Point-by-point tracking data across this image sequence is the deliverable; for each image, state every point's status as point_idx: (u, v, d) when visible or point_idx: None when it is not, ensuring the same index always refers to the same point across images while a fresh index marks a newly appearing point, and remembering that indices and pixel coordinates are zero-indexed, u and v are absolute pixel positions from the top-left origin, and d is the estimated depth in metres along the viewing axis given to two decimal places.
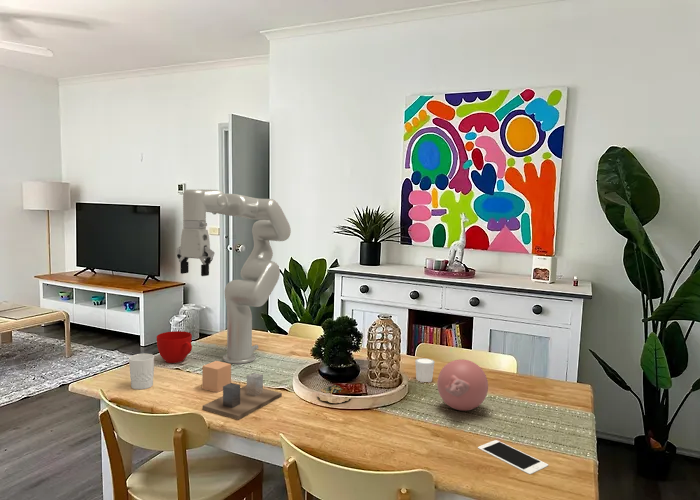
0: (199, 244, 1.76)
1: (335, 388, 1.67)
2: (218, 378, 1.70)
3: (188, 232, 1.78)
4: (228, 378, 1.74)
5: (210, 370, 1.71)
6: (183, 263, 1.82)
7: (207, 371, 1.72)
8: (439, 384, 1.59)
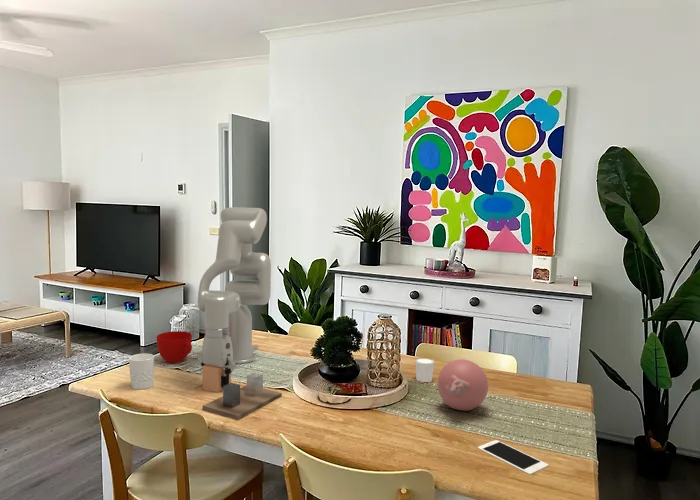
0: (222, 354, 1.69)
1: (335, 388, 1.67)
2: (218, 378, 1.70)
3: (210, 340, 1.71)
4: None
5: (210, 370, 1.71)
6: None
7: (207, 371, 1.72)
8: (439, 384, 1.59)
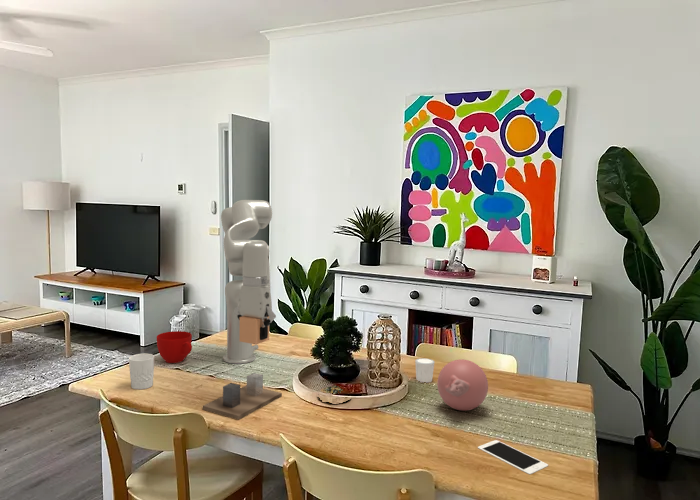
0: (261, 303, 1.60)
1: (335, 388, 1.66)
2: (257, 329, 1.61)
3: (248, 289, 1.62)
4: None
5: (248, 320, 1.62)
6: None
7: (245, 322, 1.62)
8: (439, 384, 1.59)
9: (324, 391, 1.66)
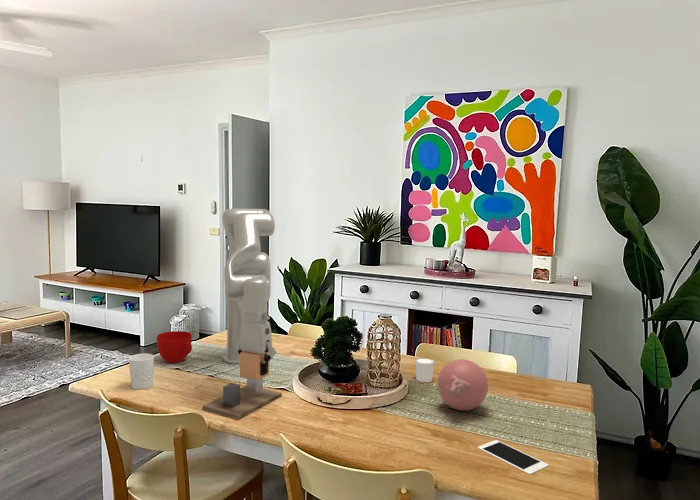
0: (261, 339, 1.61)
1: (335, 389, 1.66)
2: (257, 365, 1.62)
3: (249, 326, 1.63)
4: None
5: (248, 356, 1.63)
6: None
7: (245, 358, 1.63)
8: (439, 384, 1.59)
9: (324, 391, 1.66)
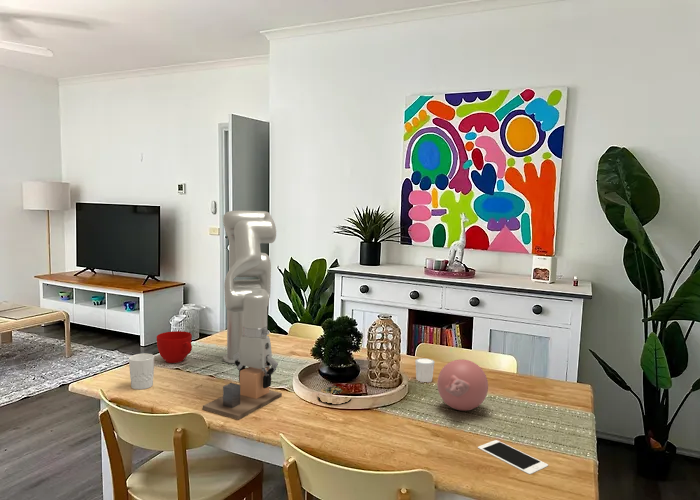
0: (261, 354, 1.62)
1: (335, 389, 1.66)
2: (257, 384, 1.62)
3: (249, 340, 1.63)
4: None
5: (248, 375, 1.63)
6: None
7: (245, 376, 1.64)
8: (439, 384, 1.59)
9: (324, 391, 1.66)
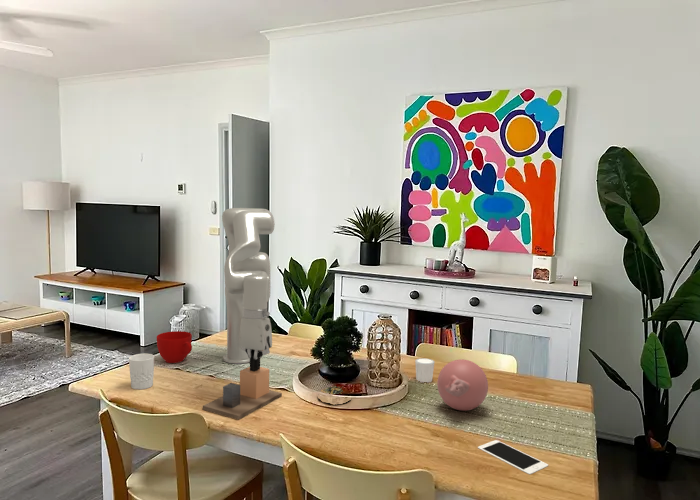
0: (261, 336, 1.61)
1: (335, 389, 1.66)
2: (257, 384, 1.62)
3: (249, 322, 1.62)
4: (266, 383, 1.67)
5: (248, 375, 1.63)
6: None
7: (245, 376, 1.64)
8: (439, 384, 1.59)
9: (324, 391, 1.66)
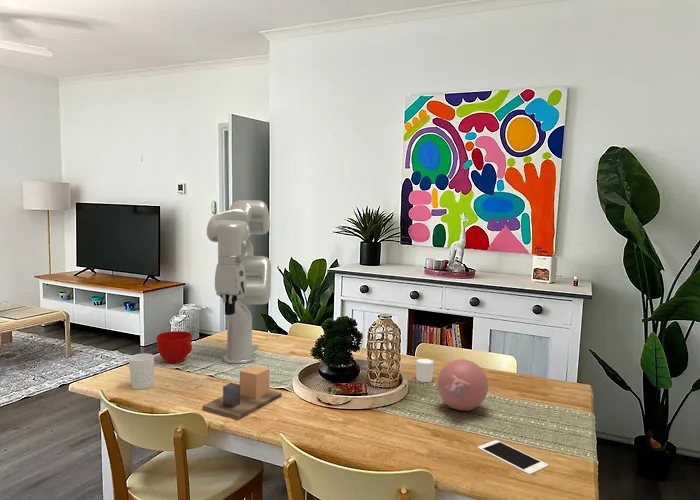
0: (236, 281, 1.69)
1: (335, 389, 1.66)
2: (257, 384, 1.62)
3: (224, 268, 1.70)
4: (266, 383, 1.67)
5: (248, 375, 1.63)
6: None
7: (245, 376, 1.64)
8: (439, 384, 1.59)
9: (324, 392, 1.66)
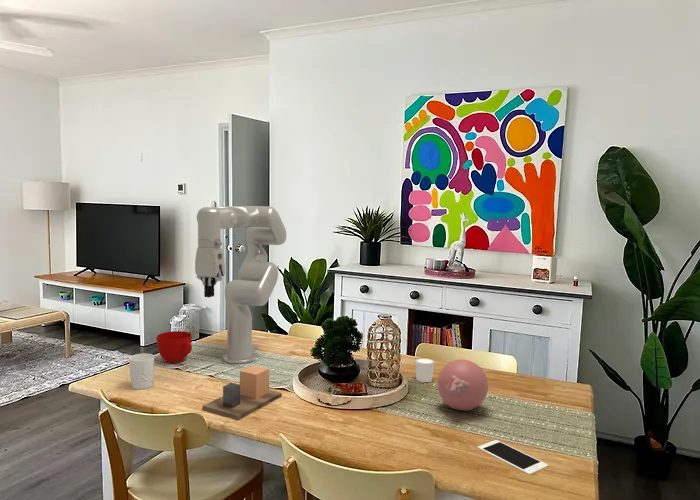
0: (214, 263, 1.76)
1: (335, 389, 1.66)
2: (257, 384, 1.62)
3: (203, 251, 1.78)
4: (266, 383, 1.67)
5: (248, 375, 1.63)
6: None
7: (245, 376, 1.64)
8: (439, 384, 1.59)
9: (324, 392, 1.66)
